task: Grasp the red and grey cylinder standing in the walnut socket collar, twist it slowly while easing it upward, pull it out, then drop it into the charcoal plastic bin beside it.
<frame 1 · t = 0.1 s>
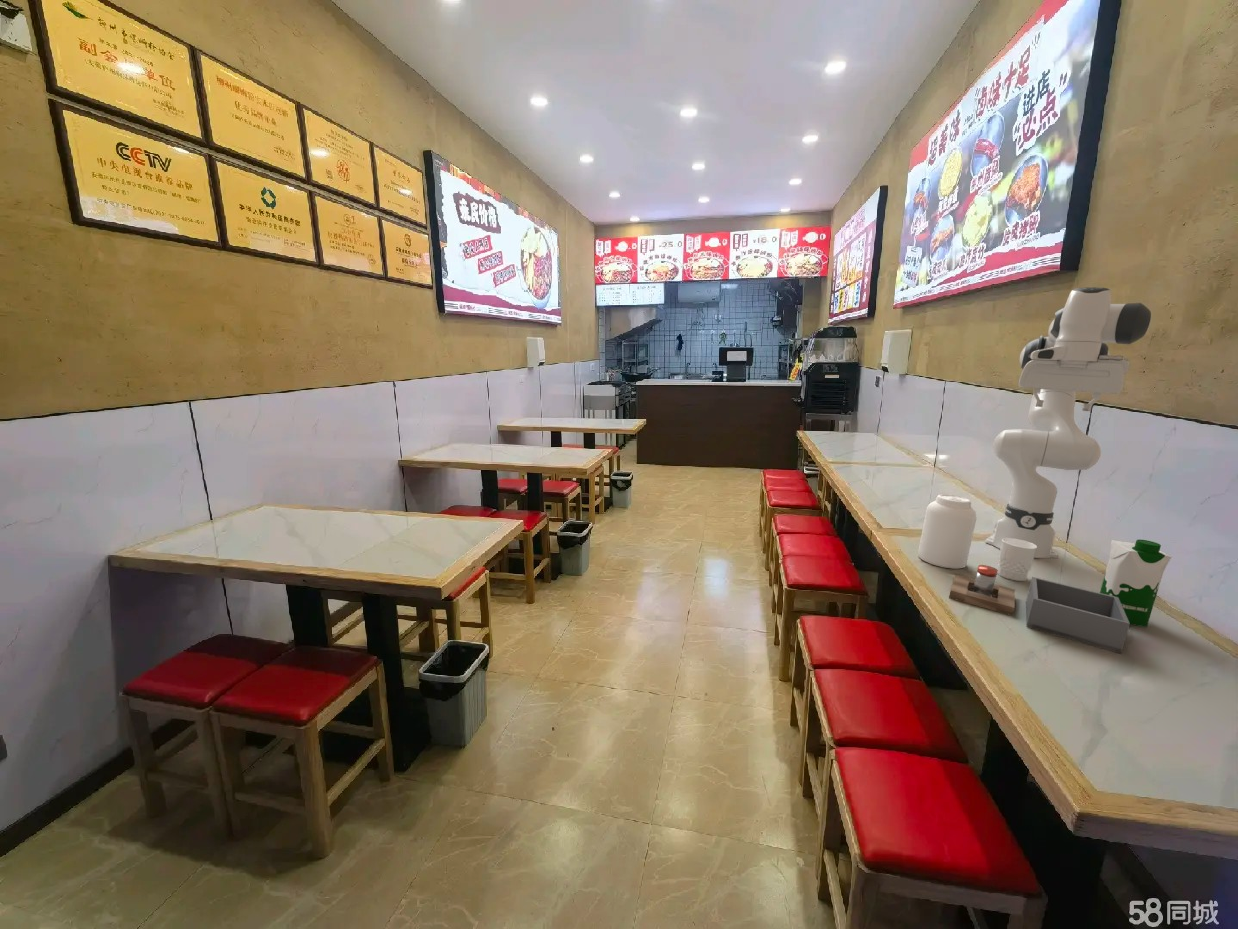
hand: (1062, 408, 132), 48 cm above the table, fingers open, 8 cm apart
white cup: (1011, 576, 145), on the table
bin: (1069, 625, 119), on the table
socket block: (981, 597, 131), on the table
milk carton: (1119, 617, 124), on the table
red and grey cylinder: (984, 582, 130), in the socket block
can: (941, 561, 154), on the table
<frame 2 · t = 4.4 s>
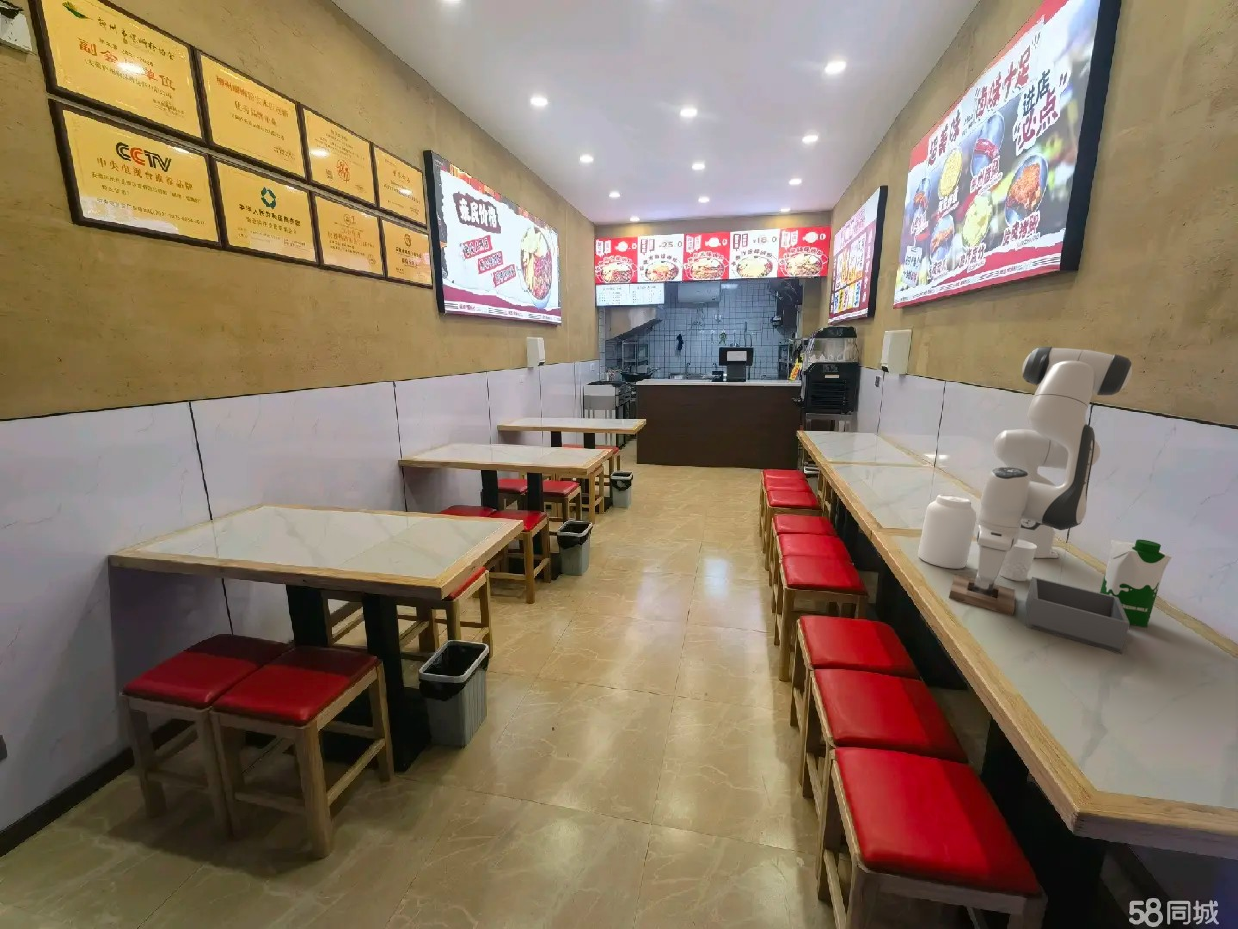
hand: (984, 584, 130), 4 cm above the table, fingers closed on red and grey cylinder, 4 cm apart
red and grey cylinder: (984, 582, 130), in the socket block, touching gripper
everything else where it was.
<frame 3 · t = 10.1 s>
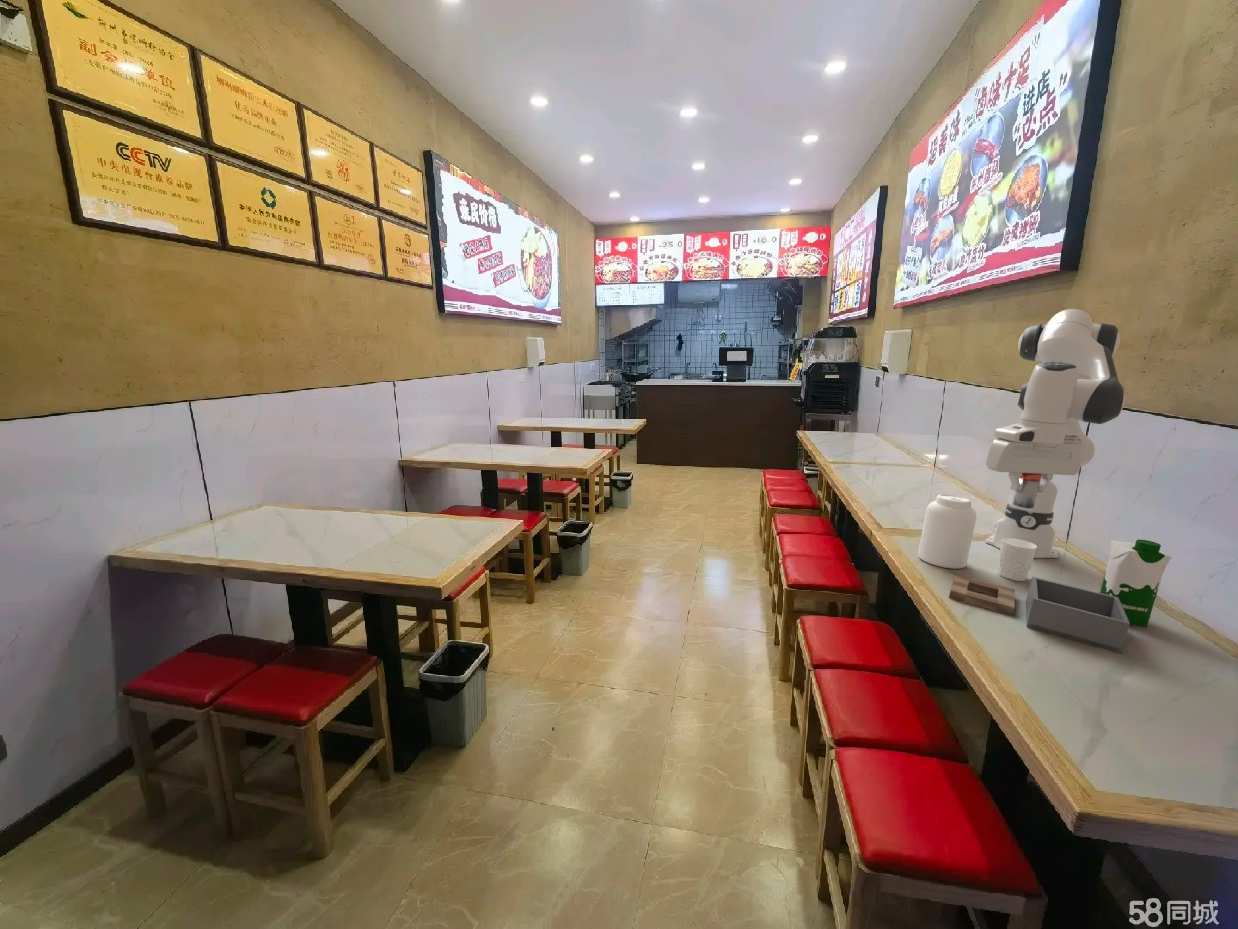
hand: (1026, 491, 122), 29 cm above the table, fingers closed on red and grey cylinder, 4 cm apart
red and grey cylinder: (1027, 489, 122), point 30 cm above the table, touching gripper
everything else where it was.
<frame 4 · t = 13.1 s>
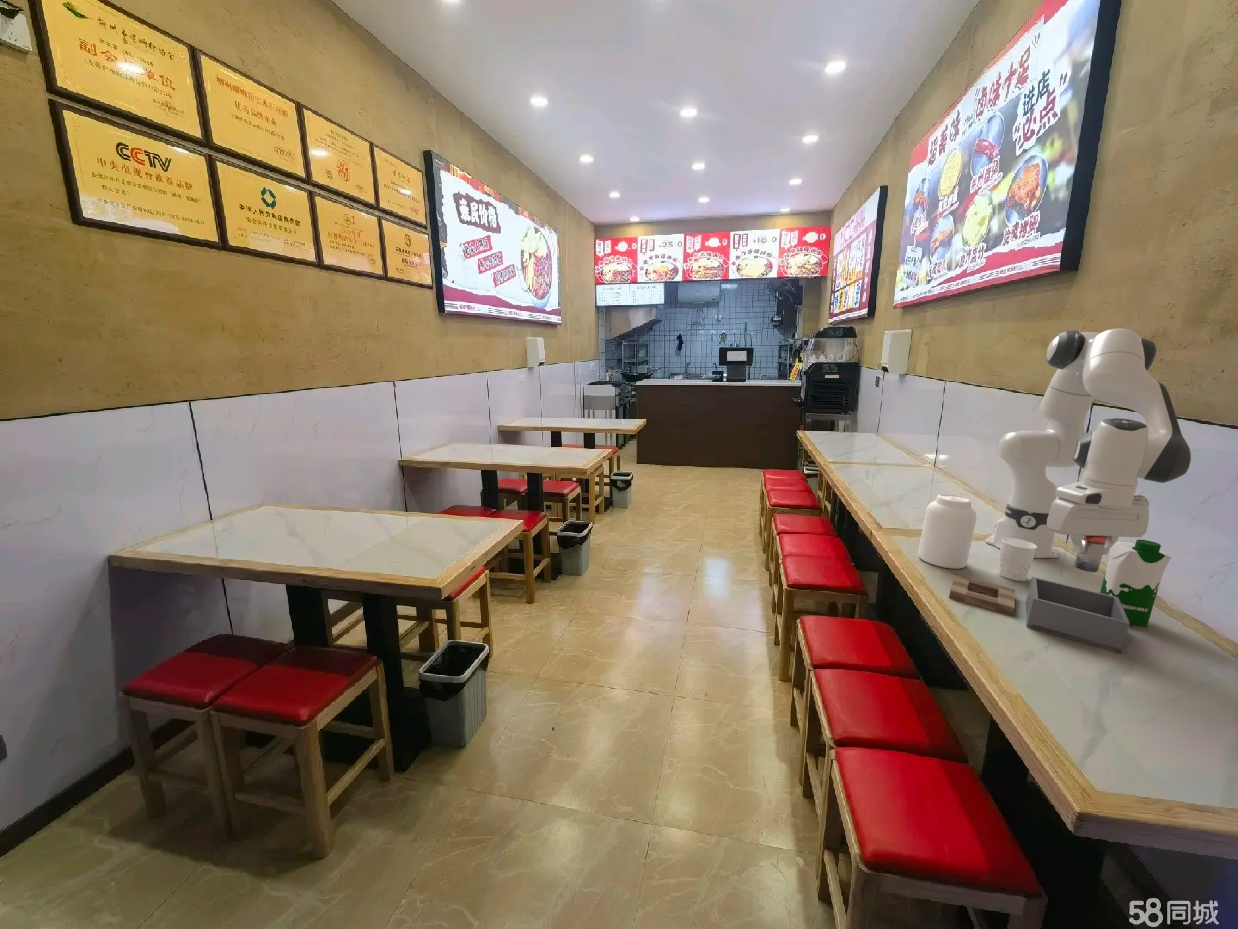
hand: (1089, 553, 115), 18 cm above the table, fingers closed on red and grey cylinder, 4 cm apart
red and grey cylinder: (1090, 551, 114), point 18 cm above the table, touching gripper
everything else where it was.
when the fingers open (8 cm above the table, at t = 15.7 s): red and grey cylinder drops 3 cm, resting on bin.
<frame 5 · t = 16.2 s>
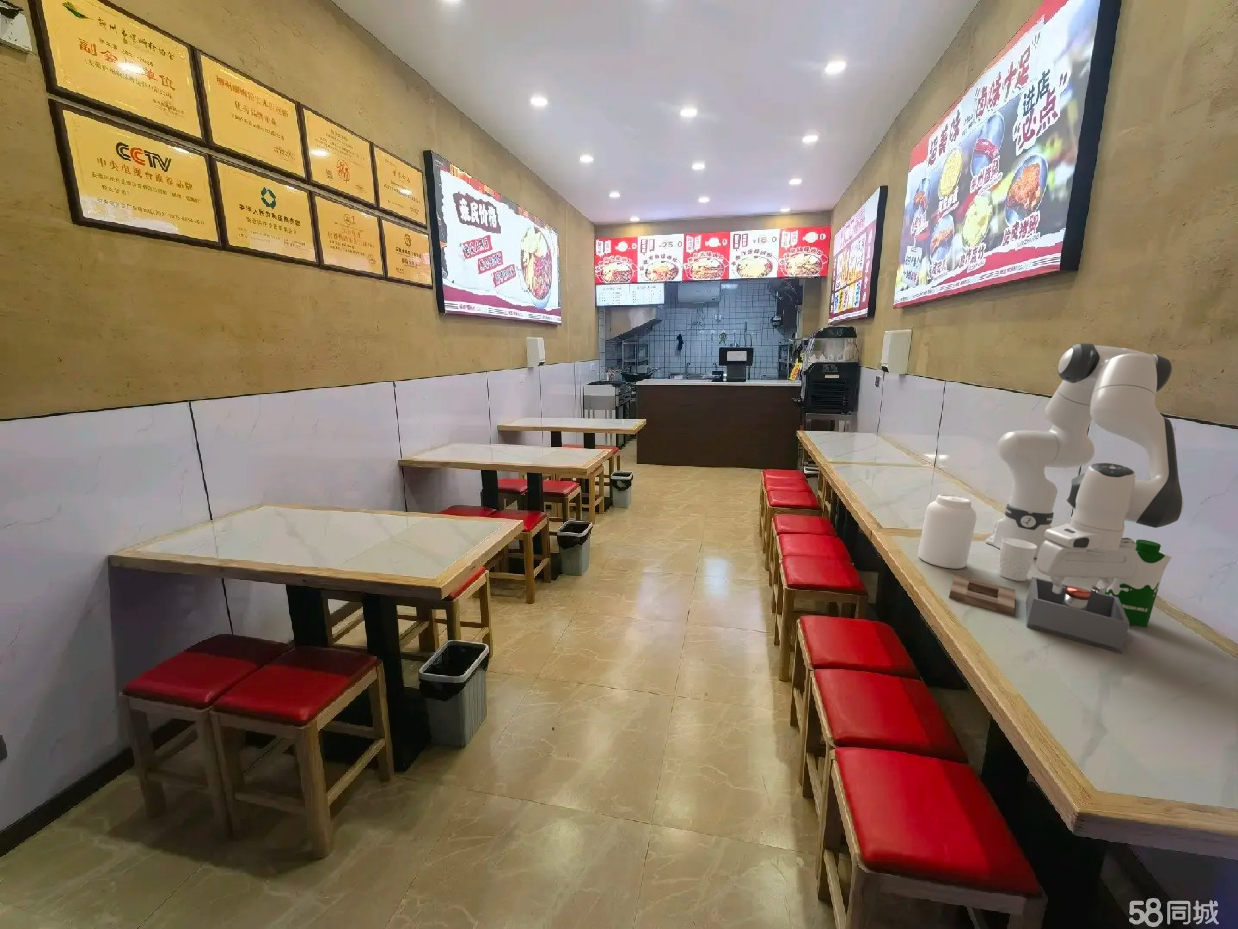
hand: (1077, 593, 117), 8 cm above the table, fingers open, 8 cm apart
red and grey cylinder: (1074, 606, 118), in the bin, point 5 cm above the table
everything else where it was.
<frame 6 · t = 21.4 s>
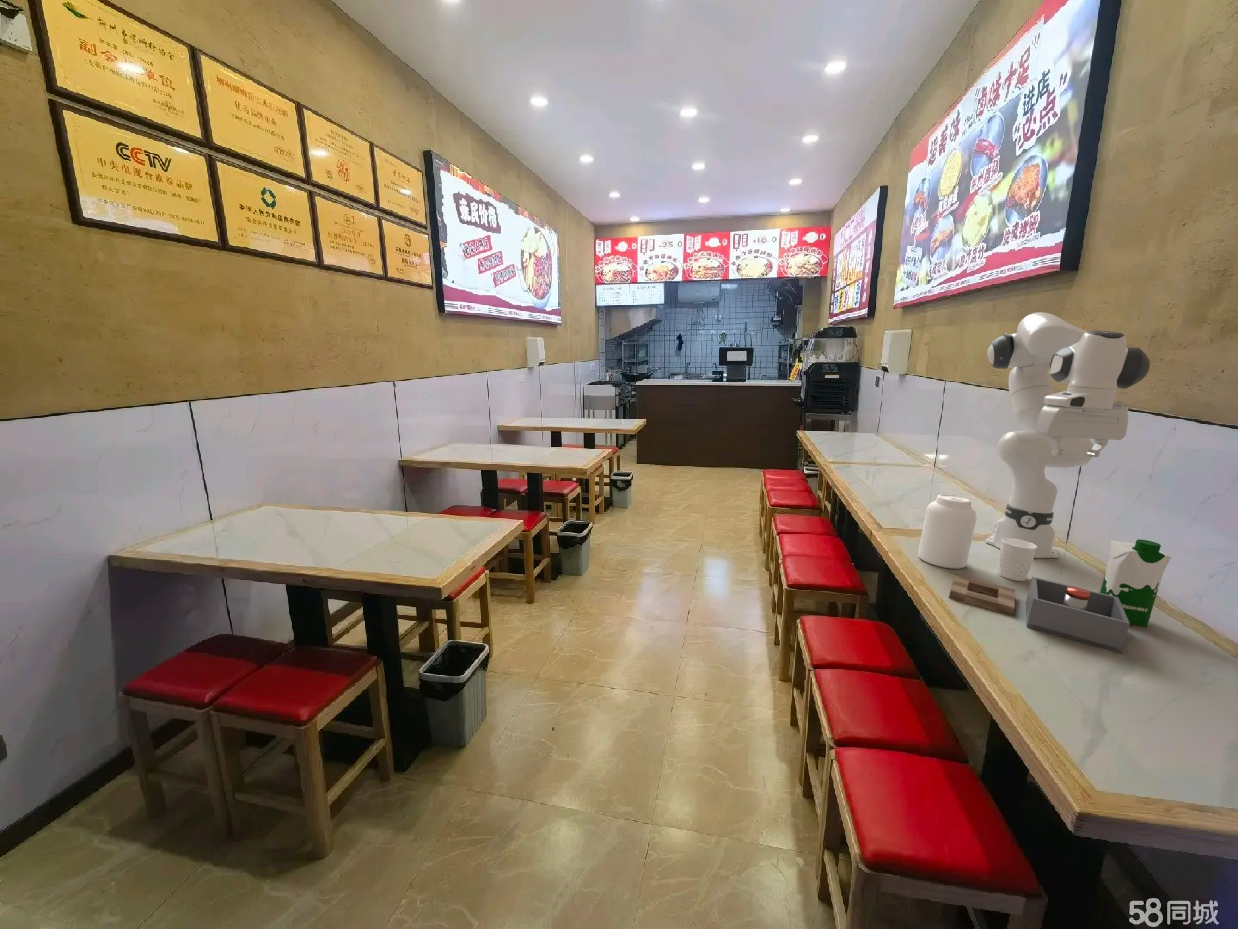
hand: (1074, 456, 127), 37 cm above the table, fingers open, 8 cm apart
nothing on the table moved.
at the end: red and grey cylinder inside the target area on the bin (0.0 cm from its centre), point 5.0 cm above the bin's base; the gripper is holding nothing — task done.
